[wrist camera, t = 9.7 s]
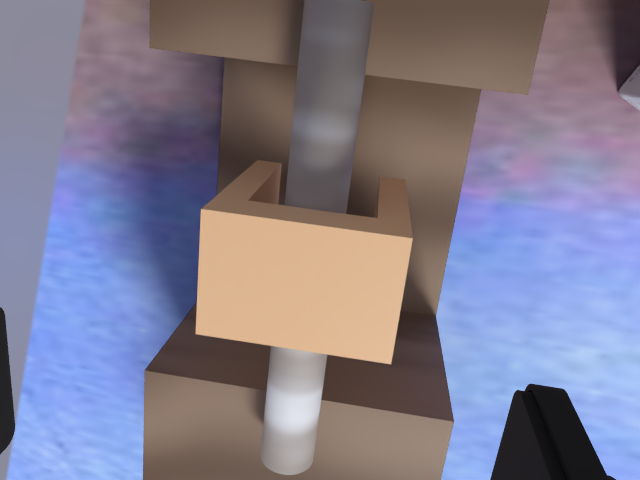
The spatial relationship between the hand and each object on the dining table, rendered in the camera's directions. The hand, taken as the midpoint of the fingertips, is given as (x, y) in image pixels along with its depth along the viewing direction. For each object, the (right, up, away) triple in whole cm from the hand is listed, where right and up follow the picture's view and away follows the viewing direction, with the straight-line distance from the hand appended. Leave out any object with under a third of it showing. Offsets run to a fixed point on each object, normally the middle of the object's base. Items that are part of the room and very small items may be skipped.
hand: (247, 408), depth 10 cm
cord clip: (+2, +4, +13) cm, 14 cm away
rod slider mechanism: (+2, +6, +19) cm, 20 cm away
